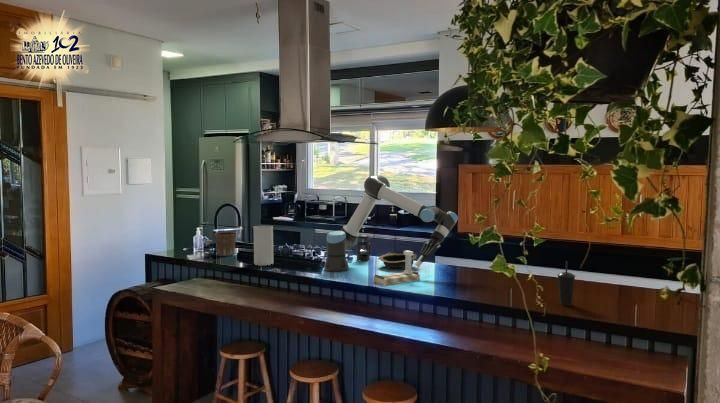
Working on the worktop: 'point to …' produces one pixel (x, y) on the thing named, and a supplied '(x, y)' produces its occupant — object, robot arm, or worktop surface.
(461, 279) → the worktop surface
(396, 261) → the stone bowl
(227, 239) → the plant pot
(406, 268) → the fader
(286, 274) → the worktop surface
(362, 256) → the french press
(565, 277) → the drinking cup
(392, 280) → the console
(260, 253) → the cylinder vase
